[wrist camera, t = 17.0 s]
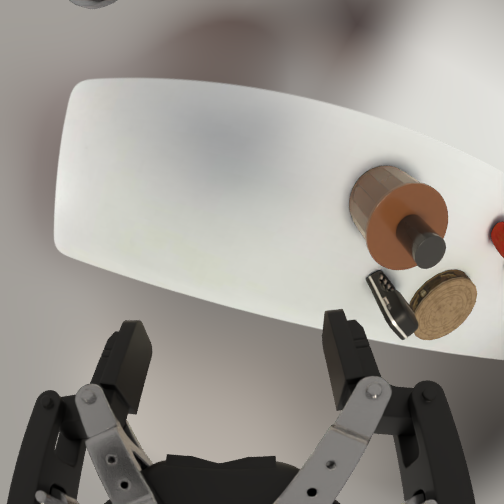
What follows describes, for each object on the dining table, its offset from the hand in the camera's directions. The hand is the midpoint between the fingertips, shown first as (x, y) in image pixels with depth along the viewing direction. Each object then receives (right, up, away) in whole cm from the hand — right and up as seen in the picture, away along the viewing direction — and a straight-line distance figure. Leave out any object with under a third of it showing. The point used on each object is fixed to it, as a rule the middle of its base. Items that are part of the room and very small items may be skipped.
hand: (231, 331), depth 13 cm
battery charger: (+23, -2, +36) cm, 43 cm away
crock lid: (+20, +6, +21) cm, 30 cm away
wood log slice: (+39, -7, +39) cm, 56 cm away
